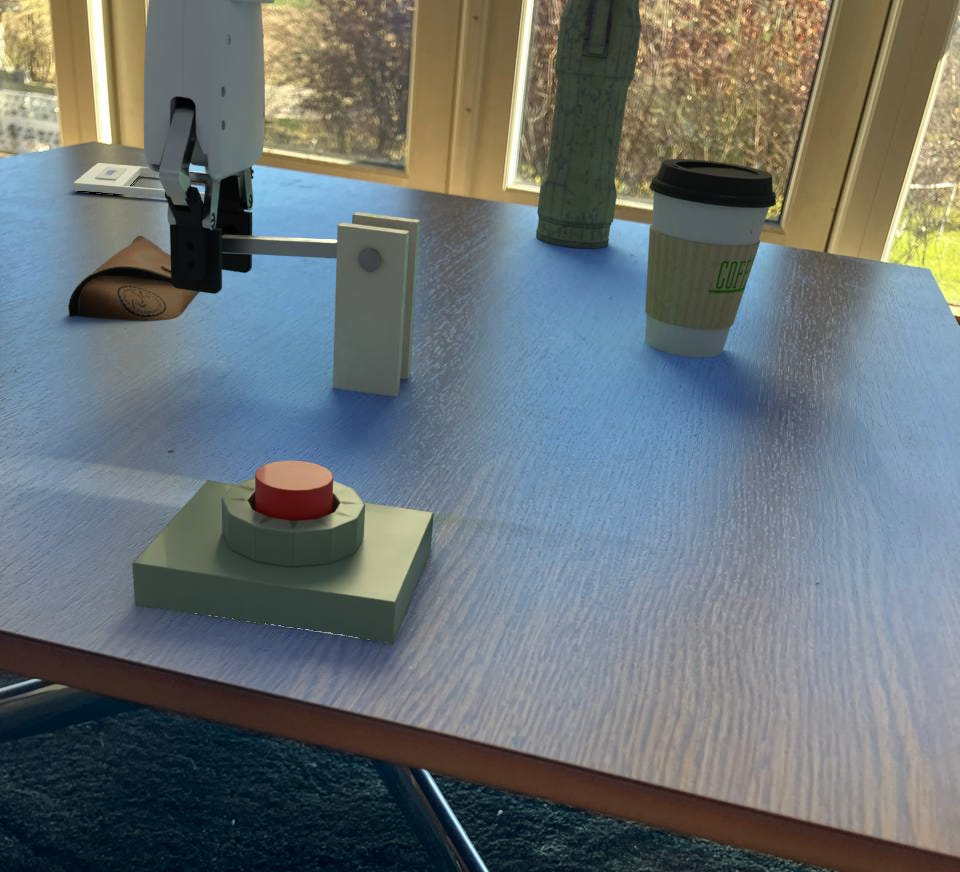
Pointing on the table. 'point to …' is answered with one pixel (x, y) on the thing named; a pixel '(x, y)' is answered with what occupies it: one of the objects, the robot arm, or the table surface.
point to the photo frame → (118, 180)
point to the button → (293, 490)
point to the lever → (276, 245)
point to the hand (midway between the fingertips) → (213, 276)
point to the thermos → (588, 121)
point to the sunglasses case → (131, 287)
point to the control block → (287, 563)
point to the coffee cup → (701, 251)
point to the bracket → (375, 302)
